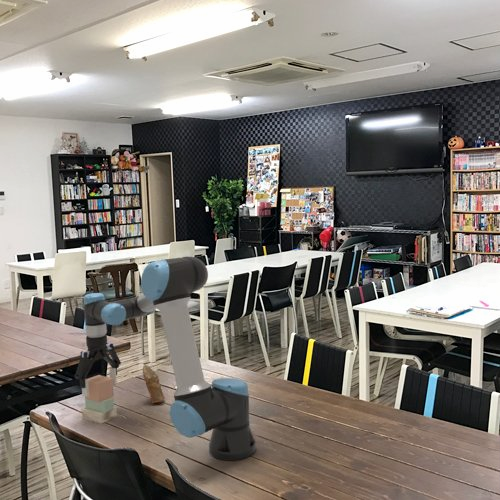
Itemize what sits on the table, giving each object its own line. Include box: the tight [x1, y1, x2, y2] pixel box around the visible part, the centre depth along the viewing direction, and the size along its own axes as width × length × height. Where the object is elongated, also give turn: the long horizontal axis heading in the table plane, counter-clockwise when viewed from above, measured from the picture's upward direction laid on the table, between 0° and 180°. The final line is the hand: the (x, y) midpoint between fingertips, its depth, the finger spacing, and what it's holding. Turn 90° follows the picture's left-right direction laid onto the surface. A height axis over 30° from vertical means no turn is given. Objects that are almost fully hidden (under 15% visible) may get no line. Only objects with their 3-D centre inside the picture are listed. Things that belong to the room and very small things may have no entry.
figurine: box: [142, 364, 166, 404], centre depth 230 cm, size 8×8×15 cm
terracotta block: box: [84, 374, 115, 402], centre depth 216 cm, size 7×8×7 cm
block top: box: [84, 397, 115, 413], centre depth 216 cm, size 5×10×4 cm, turn 58°
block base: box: [81, 405, 118, 425], centre depth 217 cm, size 8×10×4 cm
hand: (99, 390), depth 217 cm, fingers open, 13 cm apart
